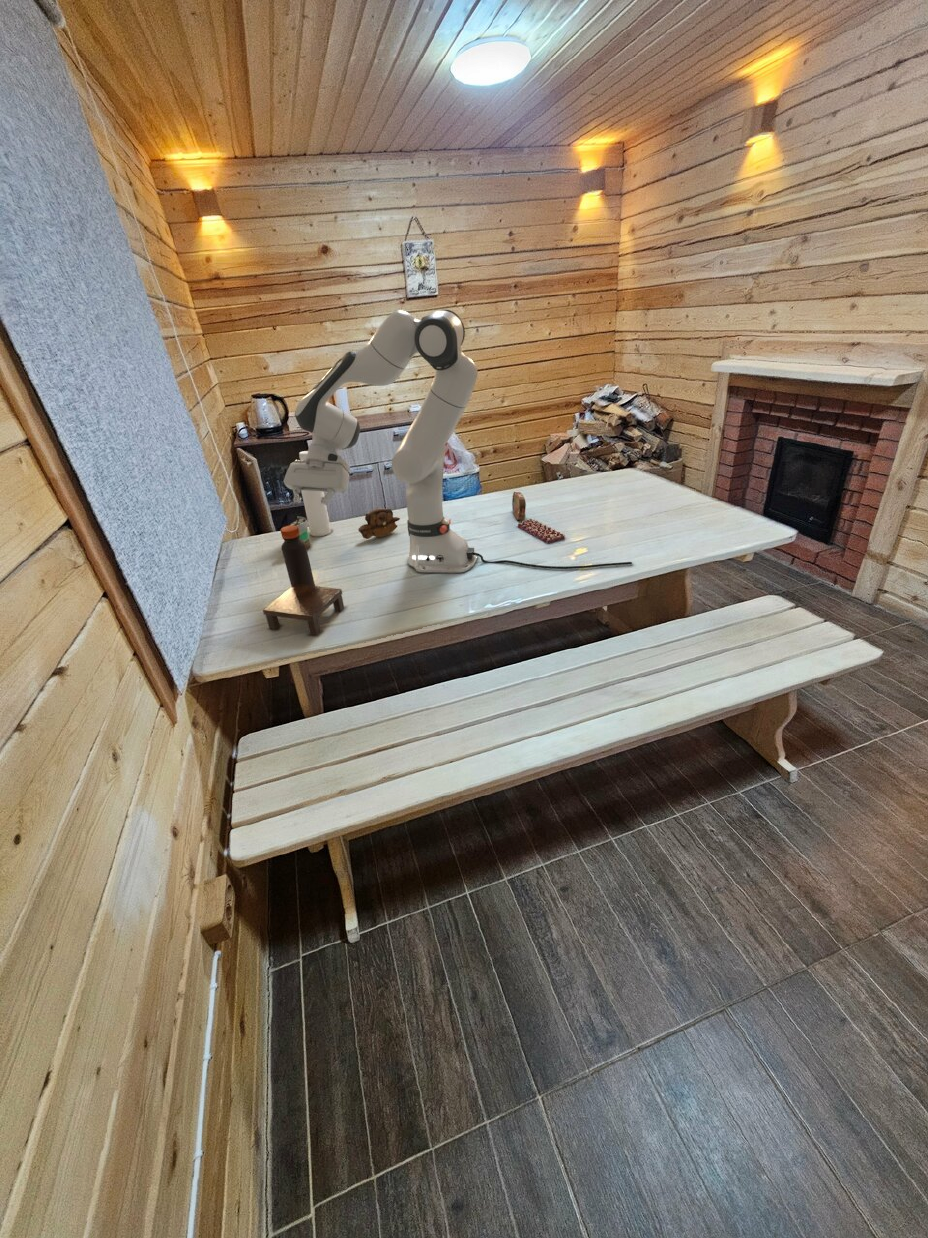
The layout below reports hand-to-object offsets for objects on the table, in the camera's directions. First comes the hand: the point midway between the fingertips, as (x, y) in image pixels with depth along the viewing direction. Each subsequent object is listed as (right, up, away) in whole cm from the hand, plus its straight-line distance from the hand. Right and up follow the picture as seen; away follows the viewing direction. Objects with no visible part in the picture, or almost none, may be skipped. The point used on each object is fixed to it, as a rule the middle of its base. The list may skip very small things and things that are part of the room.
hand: (310, 503), depth 155 cm
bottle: (-8, -2, +43) cm, 43 cm away
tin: (+67, +5, +47) cm, 82 cm away
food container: (-11, -10, +30) cm, 33 cm away
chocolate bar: (+73, -4, +32) cm, 80 cm away
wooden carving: (+16, -4, +36) cm, 40 cm away
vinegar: (-2, -26, +2) cm, 26 cm away
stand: (+3, -34, -12) cm, 36 cm away
